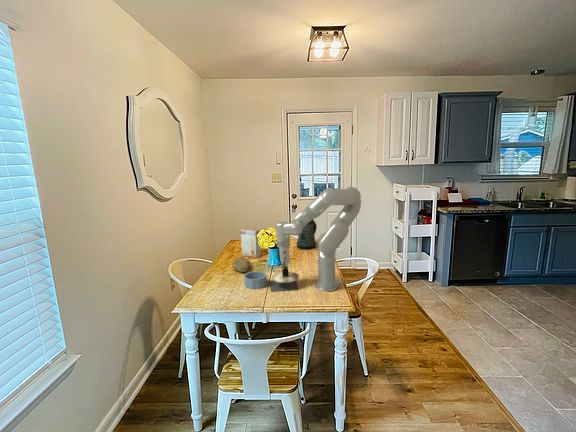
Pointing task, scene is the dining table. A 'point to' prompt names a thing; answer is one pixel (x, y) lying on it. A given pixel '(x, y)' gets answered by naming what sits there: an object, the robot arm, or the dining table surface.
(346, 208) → the robot arm
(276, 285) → the mat
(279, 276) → the lid
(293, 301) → the dining table surface
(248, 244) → the cracker box
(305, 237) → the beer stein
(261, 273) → the cup
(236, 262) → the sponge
